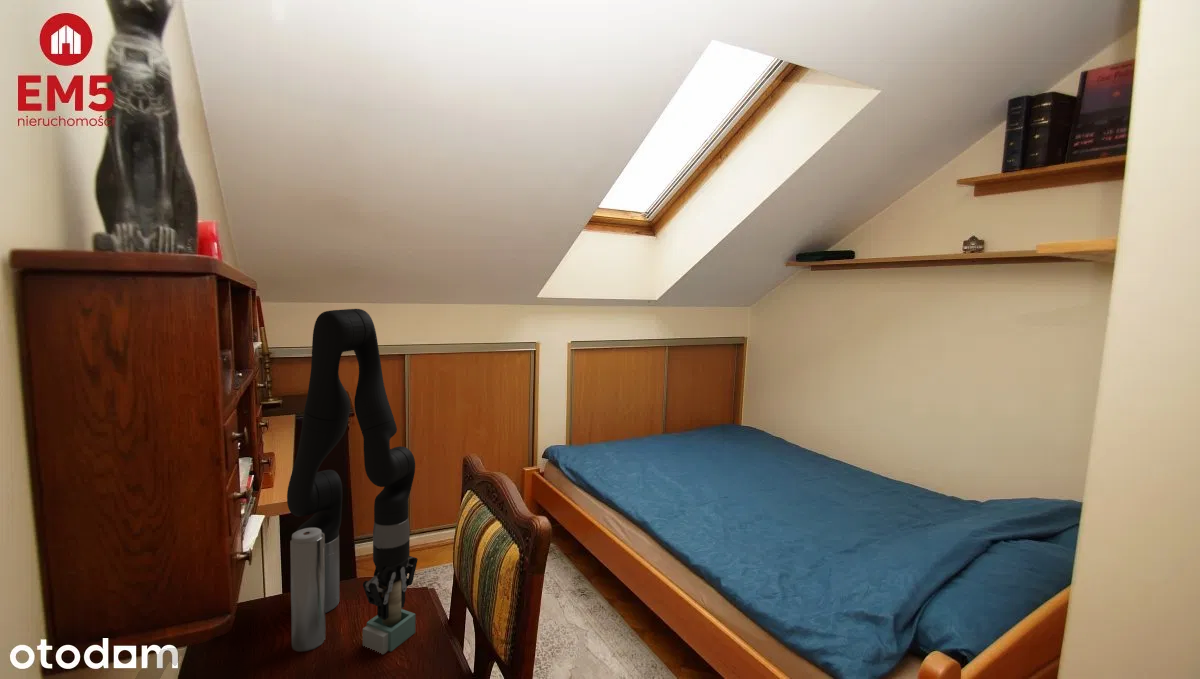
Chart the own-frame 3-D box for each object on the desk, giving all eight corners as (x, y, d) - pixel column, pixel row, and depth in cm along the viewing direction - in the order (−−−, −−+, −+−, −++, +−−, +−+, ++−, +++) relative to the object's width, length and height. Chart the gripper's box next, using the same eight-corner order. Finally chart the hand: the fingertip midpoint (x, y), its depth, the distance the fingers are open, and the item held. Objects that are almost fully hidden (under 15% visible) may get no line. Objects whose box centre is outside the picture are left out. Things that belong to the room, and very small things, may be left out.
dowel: (378, 622, 115) (378, 583, 114) (391, 612, 119) (391, 574, 118) (391, 627, 113) (392, 588, 113) (405, 617, 117) (405, 579, 116)
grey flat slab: (362, 646, 113) (362, 628, 113) (367, 642, 114) (367, 625, 114) (383, 654, 111) (383, 636, 110) (388, 650, 112) (388, 633, 112)
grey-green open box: (366, 641, 115) (366, 622, 114) (391, 623, 121) (391, 605, 121) (390, 651, 112) (391, 632, 111) (415, 632, 118) (415, 613, 118)
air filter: (310, 654, 110) (309, 541, 108) (284, 649, 111) (282, 537, 109) (332, 635, 116) (331, 527, 114) (307, 630, 118) (306, 524, 116)
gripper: (403, 522, 122) (402, 592, 124) (352, 548, 110) (352, 625, 111) (427, 529, 119) (427, 600, 121) (378, 556, 106) (378, 636, 108)
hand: (391, 612), depth 116 cm, fingers closed on dowel, 4 cm apart
